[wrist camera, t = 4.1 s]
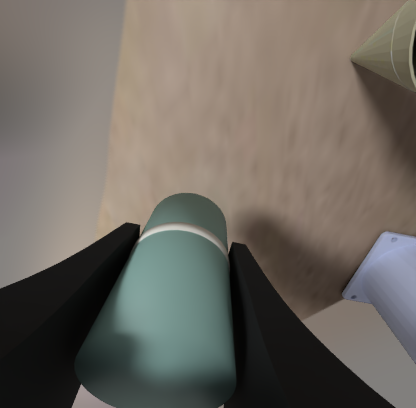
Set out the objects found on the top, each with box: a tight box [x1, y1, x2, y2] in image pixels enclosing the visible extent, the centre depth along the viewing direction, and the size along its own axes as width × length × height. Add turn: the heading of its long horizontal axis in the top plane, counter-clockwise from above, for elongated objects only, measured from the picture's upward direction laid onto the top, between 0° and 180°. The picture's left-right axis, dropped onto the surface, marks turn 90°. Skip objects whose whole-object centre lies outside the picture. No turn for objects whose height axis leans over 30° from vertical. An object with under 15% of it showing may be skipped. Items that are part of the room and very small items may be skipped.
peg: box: [74, 193, 236, 408], centre depth 9 cm, size 4×4×7 cm
